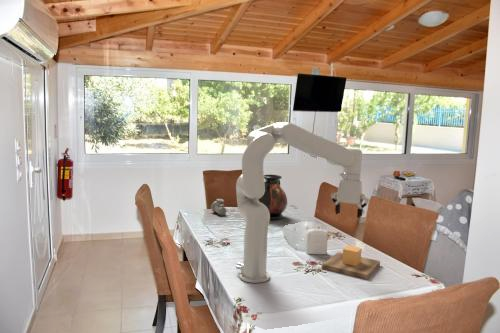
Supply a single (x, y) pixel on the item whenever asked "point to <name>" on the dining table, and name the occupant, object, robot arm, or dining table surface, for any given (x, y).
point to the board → (351, 266)
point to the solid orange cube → (352, 255)
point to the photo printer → (316, 241)
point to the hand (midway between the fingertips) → (348, 215)
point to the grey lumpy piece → (218, 207)
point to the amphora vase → (274, 197)
